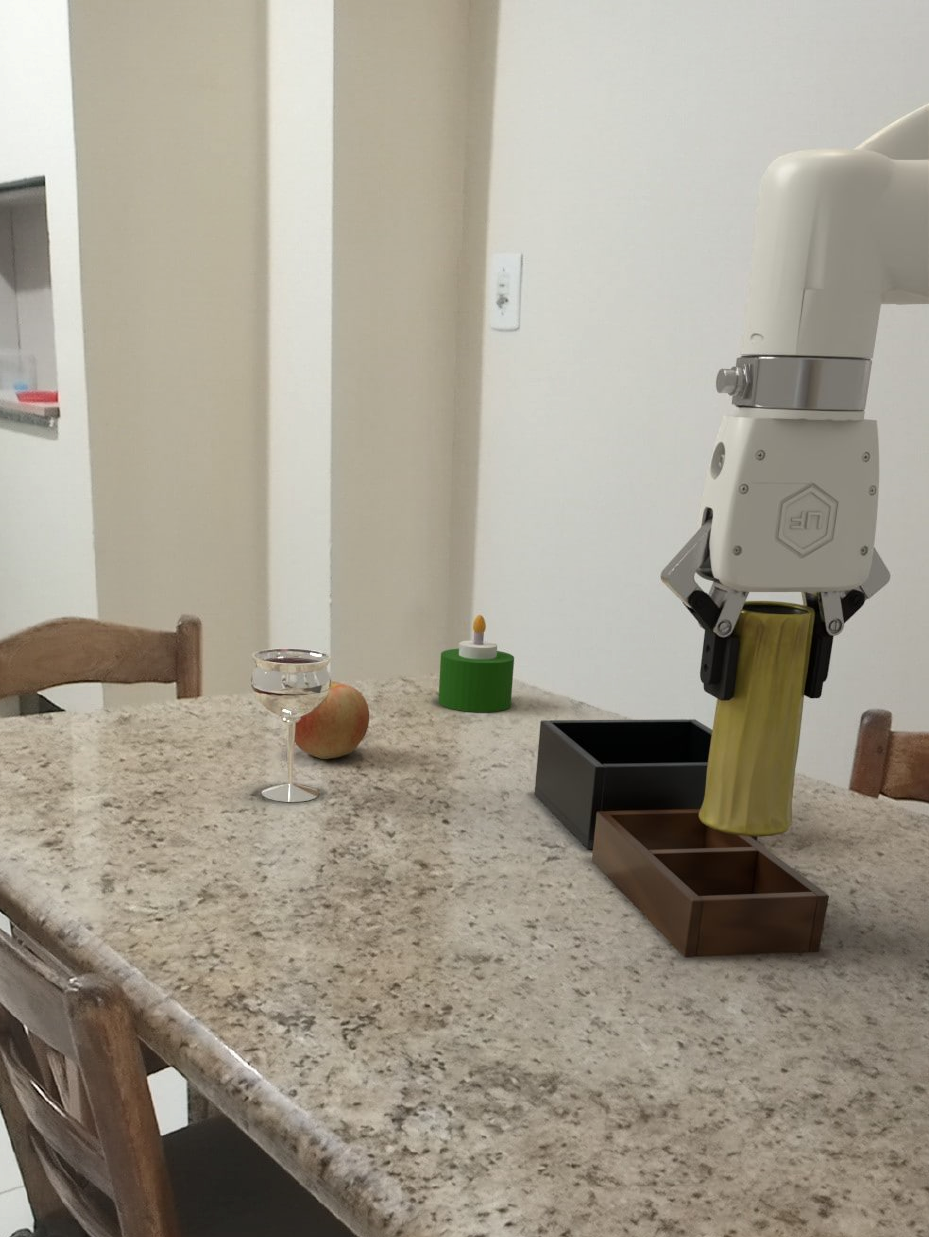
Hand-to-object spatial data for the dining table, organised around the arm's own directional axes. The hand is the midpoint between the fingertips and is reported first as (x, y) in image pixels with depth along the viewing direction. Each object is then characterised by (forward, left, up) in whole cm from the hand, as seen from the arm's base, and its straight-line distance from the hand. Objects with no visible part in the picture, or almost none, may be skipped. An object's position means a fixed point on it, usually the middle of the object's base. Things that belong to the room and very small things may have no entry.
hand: (761, 691), depth 84 cm
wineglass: (+26, -32, -16) cm, 45 cm away
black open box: (-3, -23, -16) cm, 28 cm away
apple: (+21, -44, -17) cm, 52 cm away
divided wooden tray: (0, -4, -16) cm, 17 cm away
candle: (+1, -65, -16) cm, 67 cm away
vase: (0, 0, -9) cm, 9 cm away
